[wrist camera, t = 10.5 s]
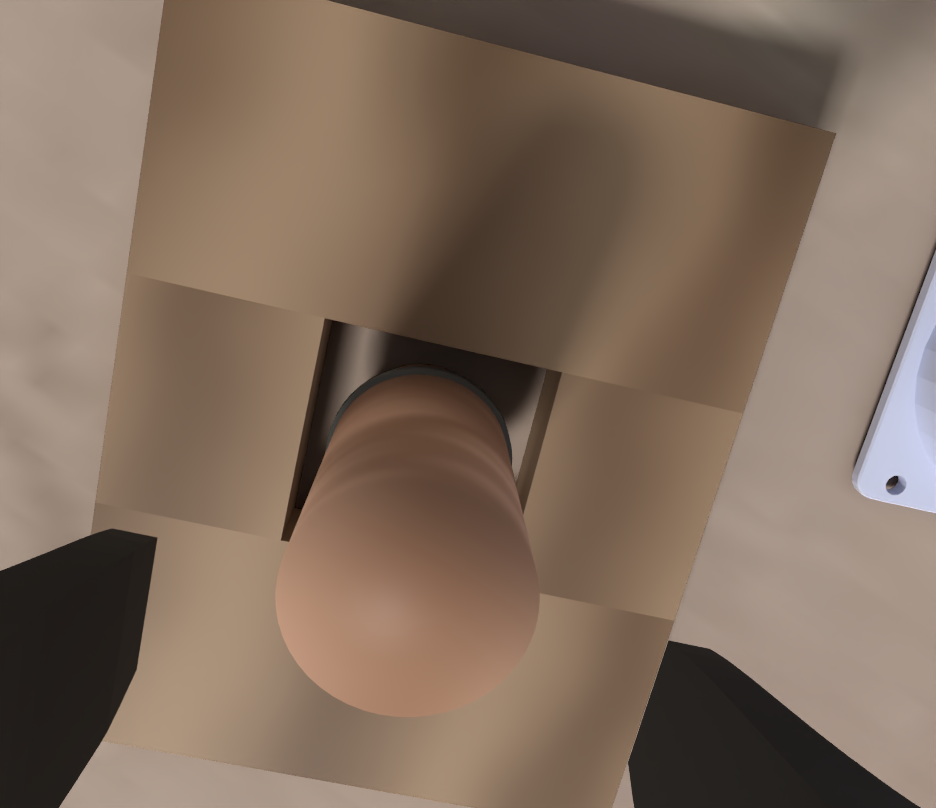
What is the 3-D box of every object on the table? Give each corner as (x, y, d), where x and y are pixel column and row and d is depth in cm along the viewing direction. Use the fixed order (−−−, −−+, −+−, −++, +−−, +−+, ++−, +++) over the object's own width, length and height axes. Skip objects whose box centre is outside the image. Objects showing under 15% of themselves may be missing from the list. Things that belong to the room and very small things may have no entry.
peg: (523, 370, 22) (578, 506, 13) (481, 523, 23) (506, 745, 14) (357, 330, 21) (298, 443, 12) (322, 488, 22) (245, 694, 13)
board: (798, 136, 20) (836, 133, 18) (591, 779, 25) (604, 830, 23) (197, -20, 19) (169, -41, 17) (94, 687, 23) (63, 734, 22)
